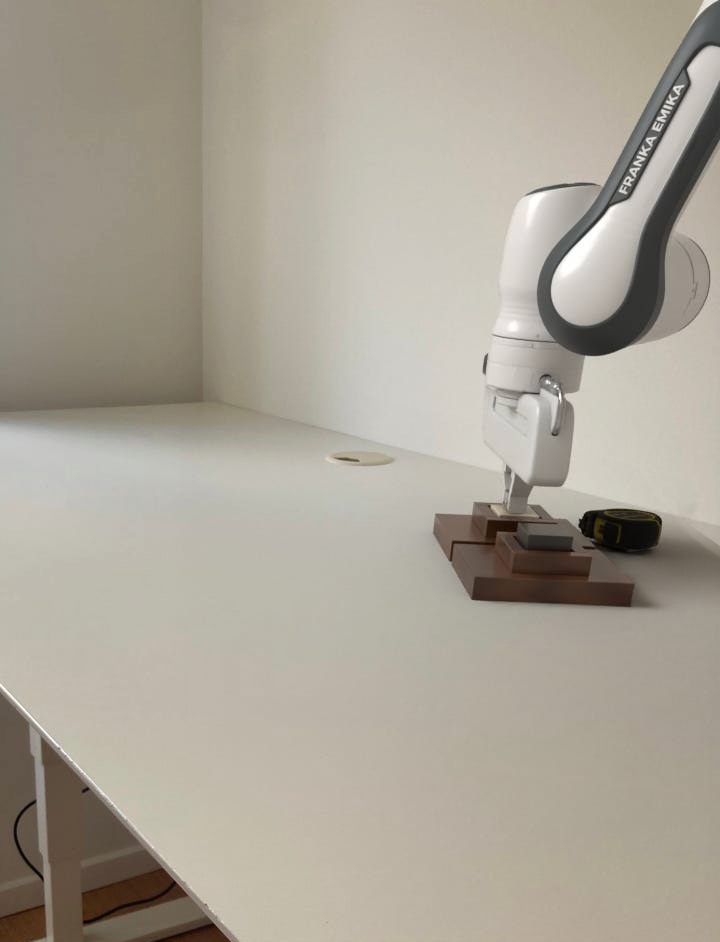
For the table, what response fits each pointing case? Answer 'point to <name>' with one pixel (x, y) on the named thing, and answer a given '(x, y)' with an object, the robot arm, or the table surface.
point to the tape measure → (622, 528)
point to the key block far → (490, 527)
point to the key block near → (540, 574)
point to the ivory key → (503, 512)
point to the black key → (544, 537)
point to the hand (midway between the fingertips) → (513, 509)
